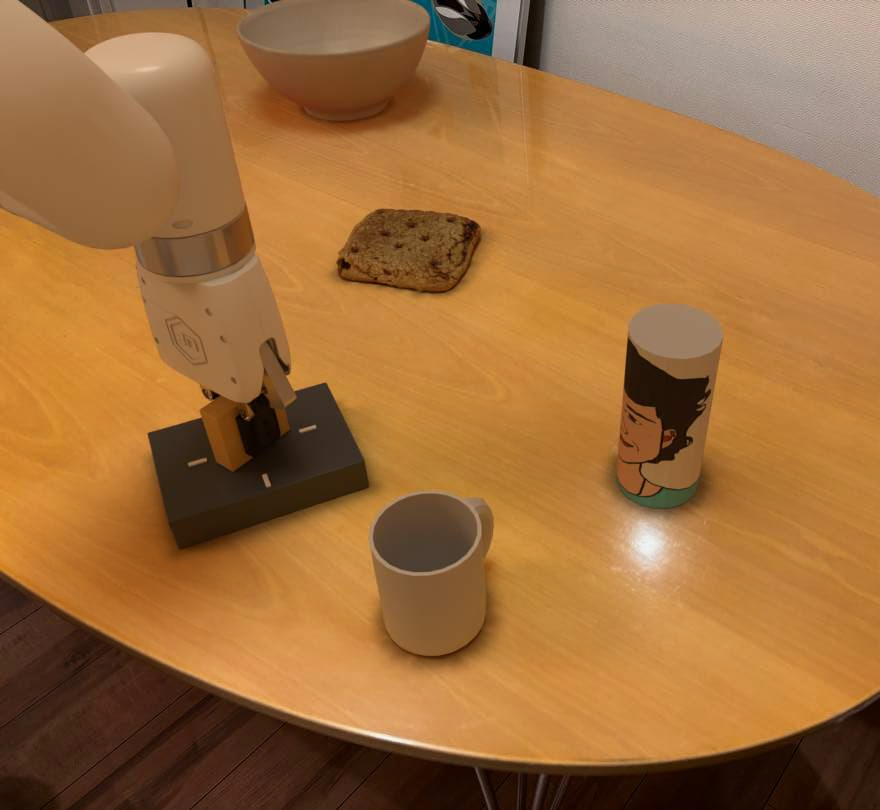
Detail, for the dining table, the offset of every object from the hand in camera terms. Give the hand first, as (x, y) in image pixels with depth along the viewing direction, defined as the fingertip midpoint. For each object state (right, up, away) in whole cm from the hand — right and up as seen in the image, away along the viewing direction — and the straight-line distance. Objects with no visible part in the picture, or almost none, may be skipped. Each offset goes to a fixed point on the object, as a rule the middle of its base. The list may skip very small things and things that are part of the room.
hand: (251, 437), depth 70 cm
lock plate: (0, -3, +3) cm, 4 cm away
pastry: (+9, +19, +29) cm, 36 cm away
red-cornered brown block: (0, -1, +1) cm, 1 cm away
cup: (+17, -12, -7) cm, 21 cm away
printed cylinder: (+33, -4, +2) cm, 33 cm away
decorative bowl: (-6, +47, +61) cm, 78 cm away
